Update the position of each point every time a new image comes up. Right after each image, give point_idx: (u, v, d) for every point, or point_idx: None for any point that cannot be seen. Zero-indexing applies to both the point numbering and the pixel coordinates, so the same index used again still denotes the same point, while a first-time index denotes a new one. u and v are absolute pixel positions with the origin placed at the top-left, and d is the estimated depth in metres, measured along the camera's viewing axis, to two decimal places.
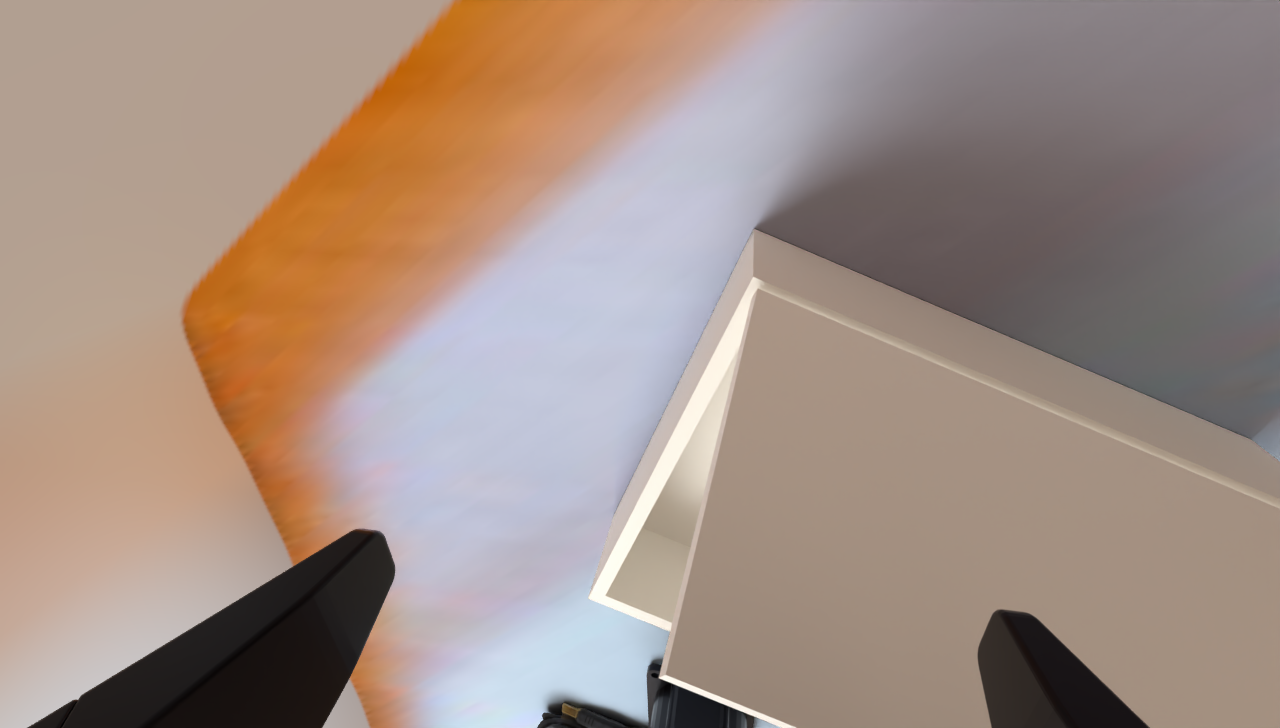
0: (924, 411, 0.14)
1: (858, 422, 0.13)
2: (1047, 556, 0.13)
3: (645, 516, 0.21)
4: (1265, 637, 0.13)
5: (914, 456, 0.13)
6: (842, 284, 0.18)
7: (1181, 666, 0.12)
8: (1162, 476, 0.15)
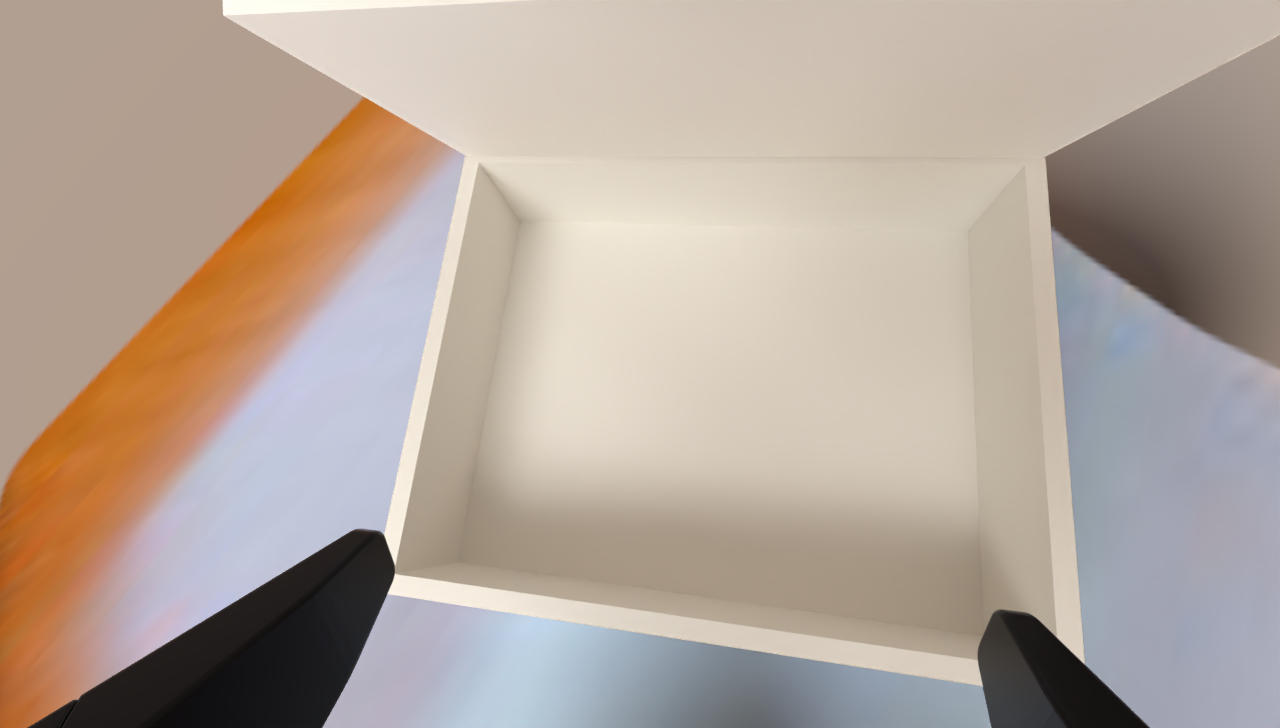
0: None
1: None
2: None
3: (424, 410, 0.19)
4: None
5: None
6: None
7: None
8: None
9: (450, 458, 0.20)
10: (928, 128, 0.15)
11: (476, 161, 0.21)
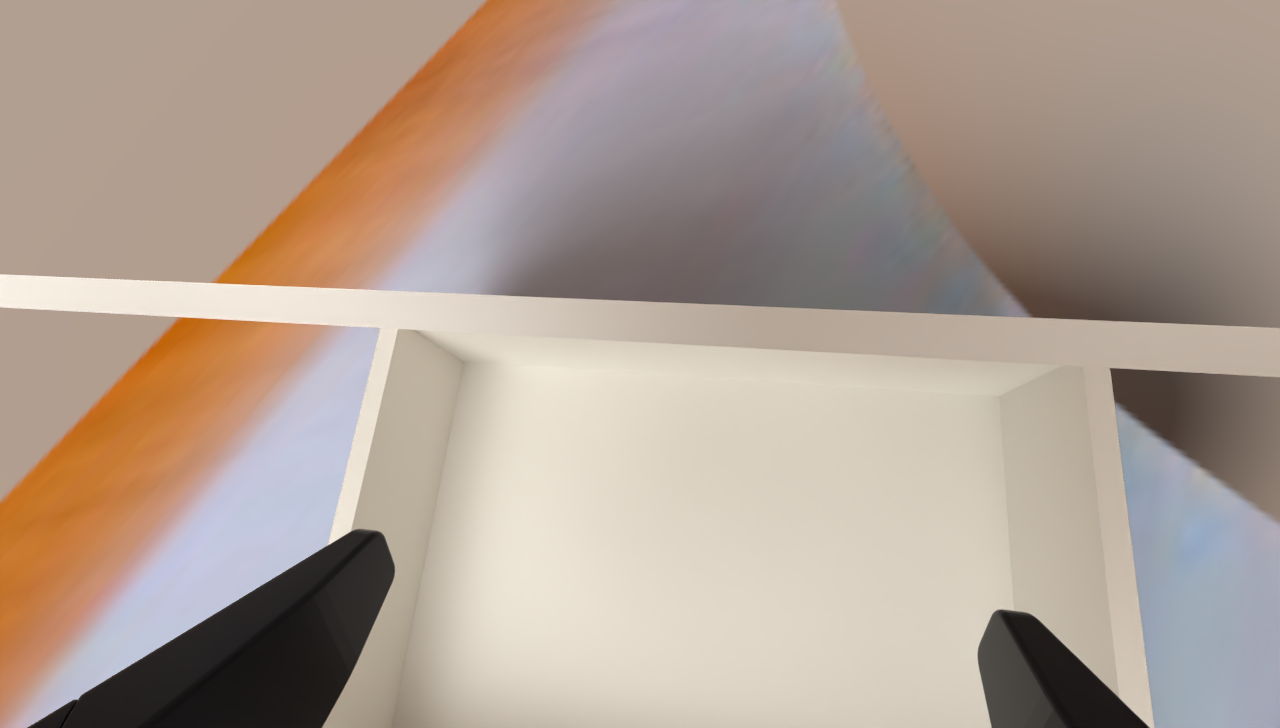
0: None
1: None
2: None
3: None
4: None
5: None
6: None
7: None
8: None
9: (359, 698, 0.16)
10: None
11: None
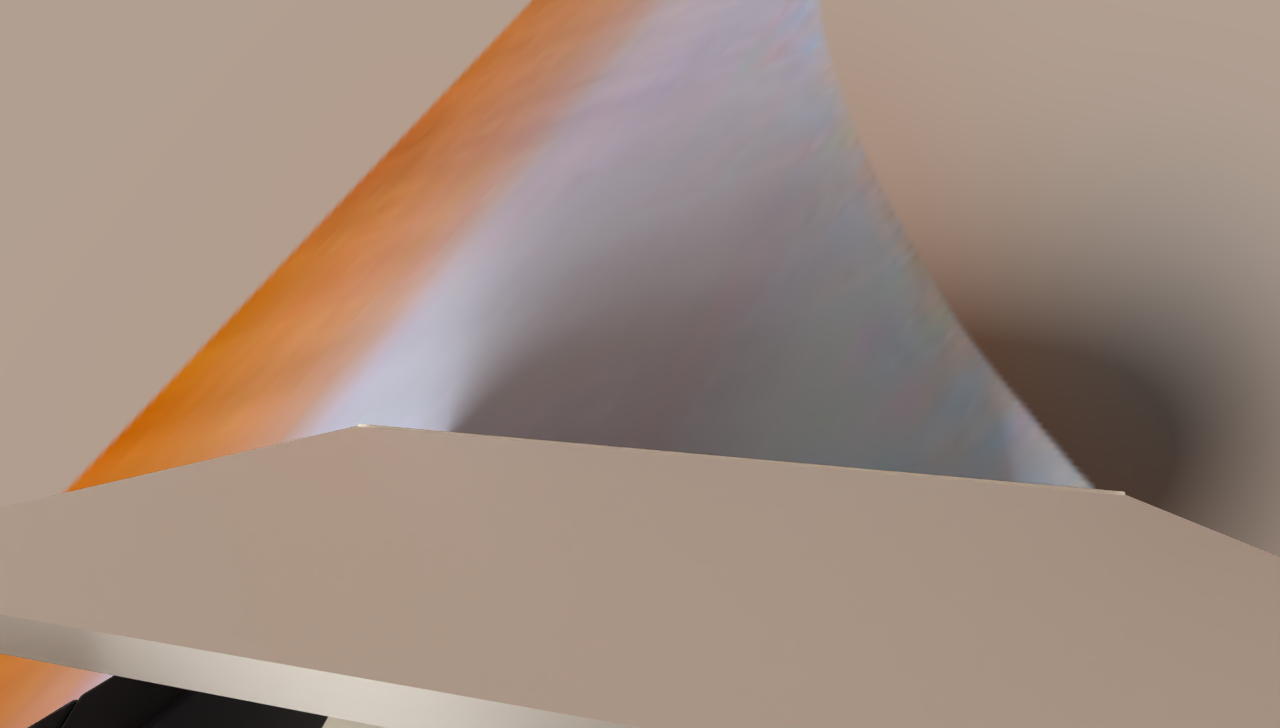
0: (488, 456, 0.13)
1: (386, 460, 0.12)
2: (572, 503, 0.10)
3: None
4: (906, 534, 0.09)
5: (441, 470, 0.12)
6: None
7: (737, 551, 0.08)
8: (797, 472, 0.13)
9: None
10: None
11: None
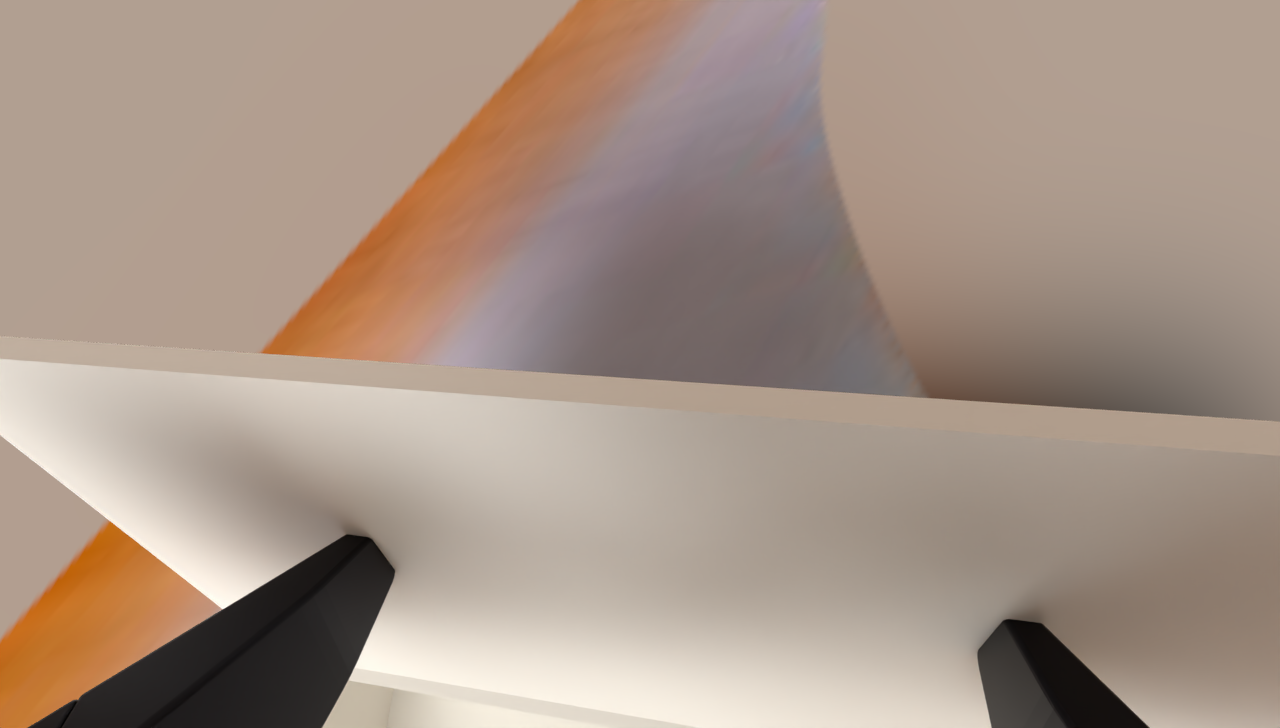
0: None
1: None
2: None
3: None
4: None
5: None
6: None
7: None
8: None
9: None
10: None
11: None
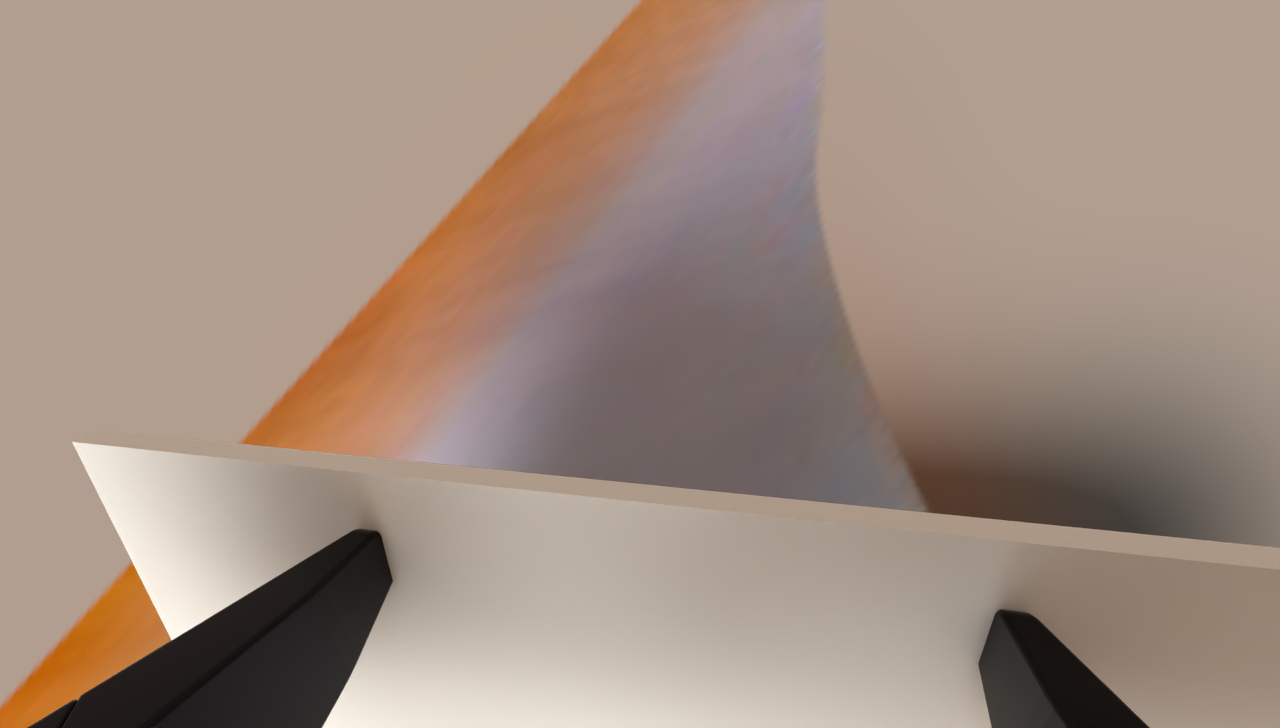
0: None
1: None
2: None
3: None
4: None
5: None
6: None
7: None
8: None
9: None
10: None
11: None
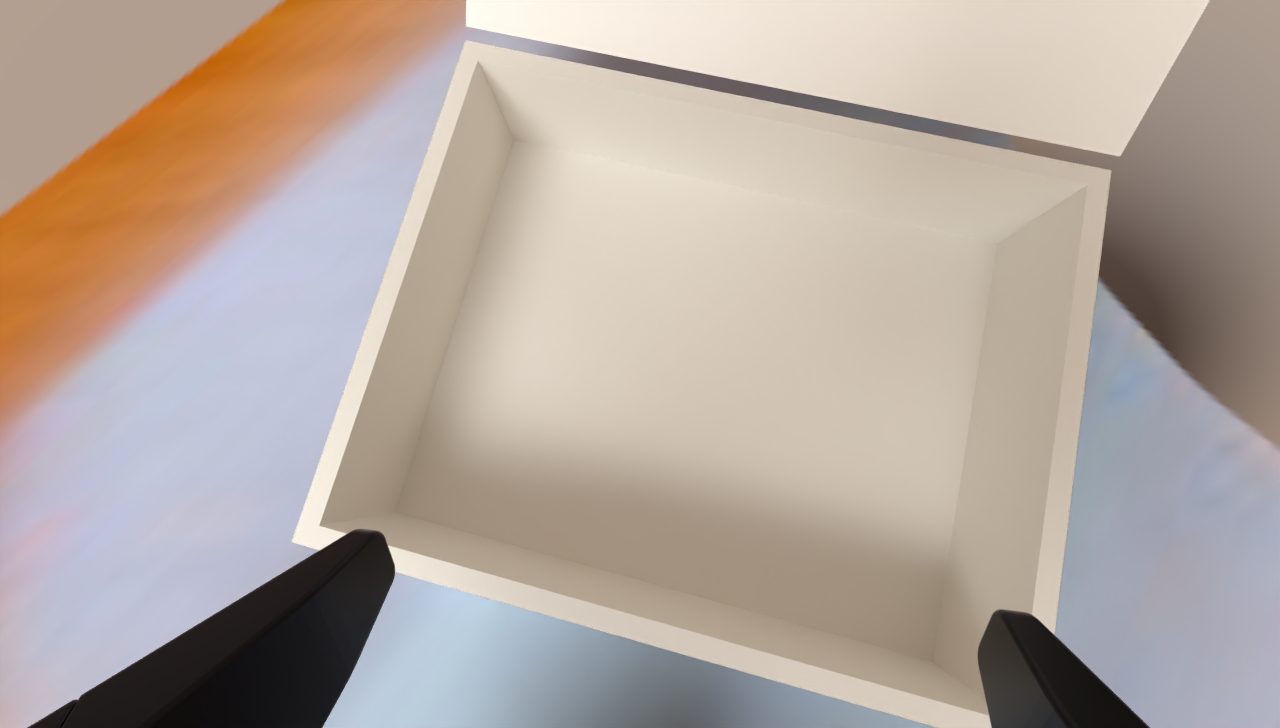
0: None
1: None
2: None
3: (377, 345, 0.16)
4: None
5: None
6: None
7: None
8: None
9: (400, 400, 0.18)
10: (1017, 8, 0.15)
11: (475, 58, 0.18)
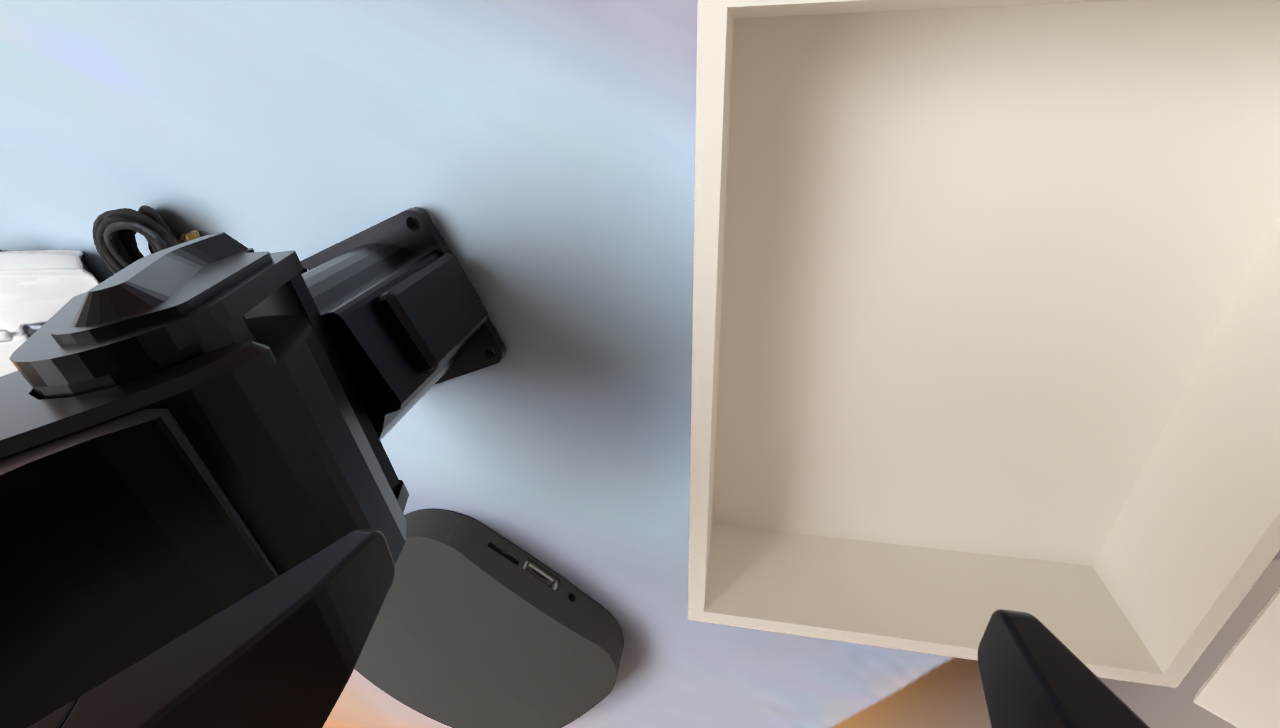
0: None
1: None
2: None
3: None
4: None
5: None
6: None
7: None
8: None
9: (902, 5, 0.12)
10: None
11: None
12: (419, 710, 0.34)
